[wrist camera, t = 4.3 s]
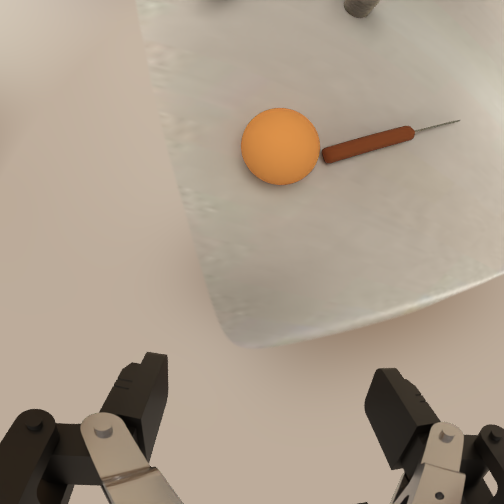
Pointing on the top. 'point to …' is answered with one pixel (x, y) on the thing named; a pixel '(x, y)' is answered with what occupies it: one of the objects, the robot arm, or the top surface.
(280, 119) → the ball
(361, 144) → the kitchen knife
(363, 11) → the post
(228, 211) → the top surface
